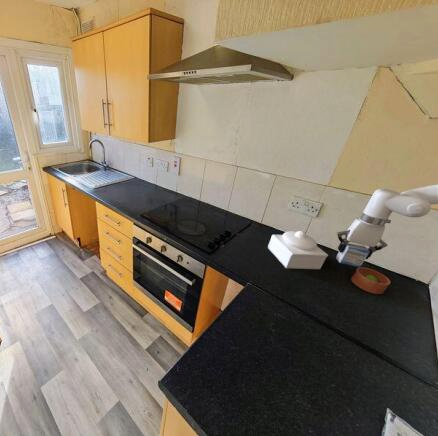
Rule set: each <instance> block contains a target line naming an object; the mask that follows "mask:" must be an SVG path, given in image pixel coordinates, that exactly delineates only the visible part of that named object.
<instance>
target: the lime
mask: <svg viewBox="0 0 438 436" xmlns="http://www.w3.org/2000/svg"><path fill="white" fill-rule="evenodd" d="M364 277H366V278H367V279H369V280H372V281H374V282H377V283H378V280H377V278H376V277H374V276H372V275H365V276H364Z"/></svg>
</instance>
